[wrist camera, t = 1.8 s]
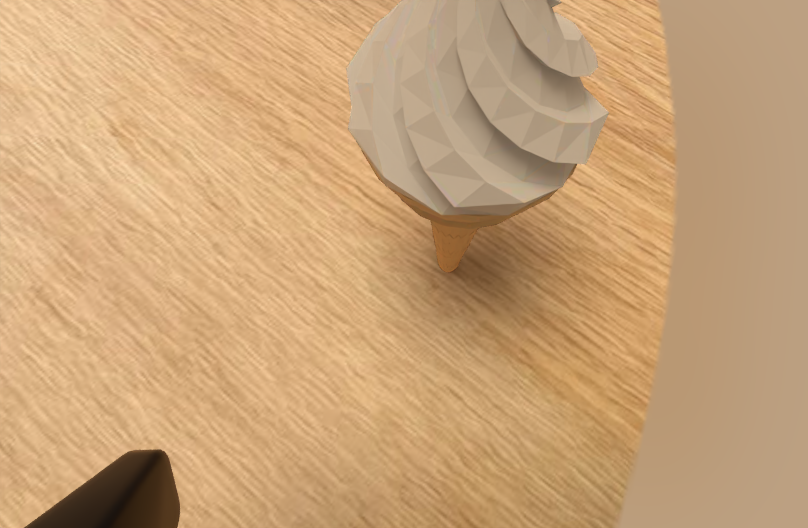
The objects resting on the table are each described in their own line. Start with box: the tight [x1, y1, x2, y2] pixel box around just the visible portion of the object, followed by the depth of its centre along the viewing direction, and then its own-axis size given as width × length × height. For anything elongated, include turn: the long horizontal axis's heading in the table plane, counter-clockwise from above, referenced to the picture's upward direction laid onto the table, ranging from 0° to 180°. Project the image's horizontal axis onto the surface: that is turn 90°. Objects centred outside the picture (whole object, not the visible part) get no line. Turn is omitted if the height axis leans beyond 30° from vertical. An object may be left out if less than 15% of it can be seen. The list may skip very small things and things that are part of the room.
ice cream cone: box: [346, 0, 609, 272], centre depth 16 cm, size 6×6×15 cm
